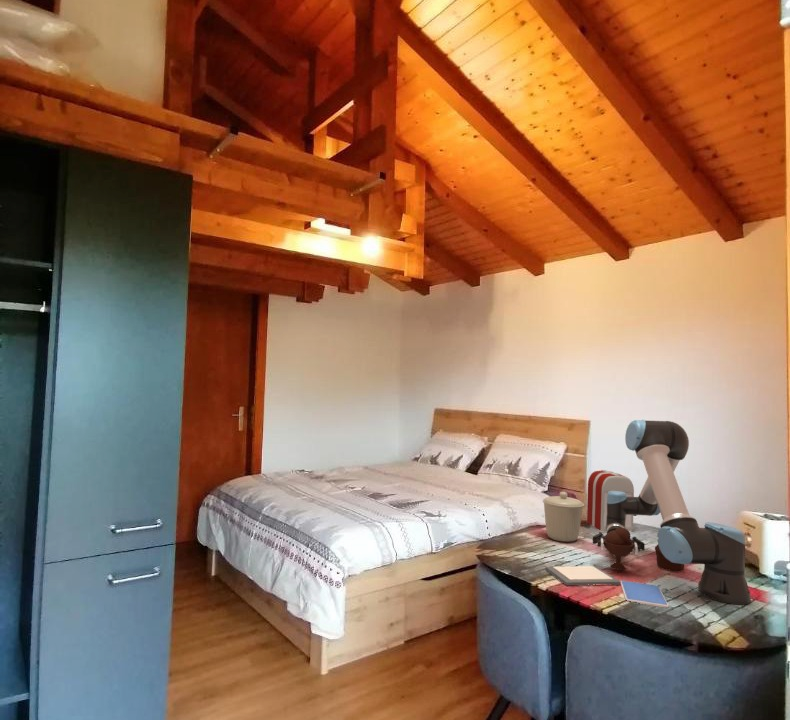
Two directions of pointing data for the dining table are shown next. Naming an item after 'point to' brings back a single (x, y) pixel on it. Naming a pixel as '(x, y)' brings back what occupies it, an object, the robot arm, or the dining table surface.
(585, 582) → the mat
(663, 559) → the muffin
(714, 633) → the dining table surface
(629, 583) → the tablet computer
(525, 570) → the dining table surface
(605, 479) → the striped arched panel rack
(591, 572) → the sheet
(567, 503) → the canister
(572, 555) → the dining table surface
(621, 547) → the ice cream bowl
